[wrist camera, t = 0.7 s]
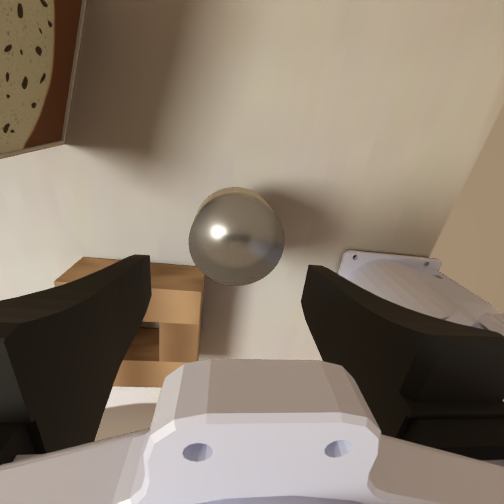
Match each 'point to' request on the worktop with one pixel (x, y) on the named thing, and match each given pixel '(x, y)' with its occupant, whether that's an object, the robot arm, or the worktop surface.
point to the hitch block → (159, 310)
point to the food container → (37, 71)
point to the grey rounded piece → (236, 237)
